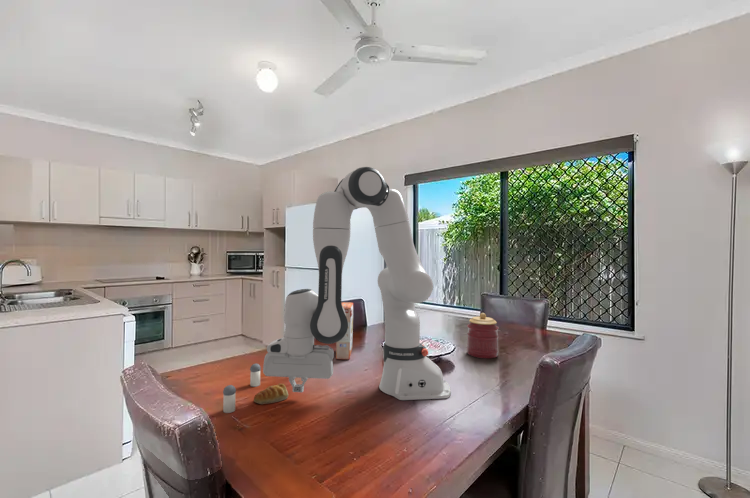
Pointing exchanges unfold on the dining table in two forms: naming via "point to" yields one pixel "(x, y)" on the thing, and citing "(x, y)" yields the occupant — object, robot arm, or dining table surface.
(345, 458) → the dining table surface
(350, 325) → the cracker box
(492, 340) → the canister
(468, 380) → the dining table surface
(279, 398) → the pastry
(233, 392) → the posts
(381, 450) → the dining table surface
